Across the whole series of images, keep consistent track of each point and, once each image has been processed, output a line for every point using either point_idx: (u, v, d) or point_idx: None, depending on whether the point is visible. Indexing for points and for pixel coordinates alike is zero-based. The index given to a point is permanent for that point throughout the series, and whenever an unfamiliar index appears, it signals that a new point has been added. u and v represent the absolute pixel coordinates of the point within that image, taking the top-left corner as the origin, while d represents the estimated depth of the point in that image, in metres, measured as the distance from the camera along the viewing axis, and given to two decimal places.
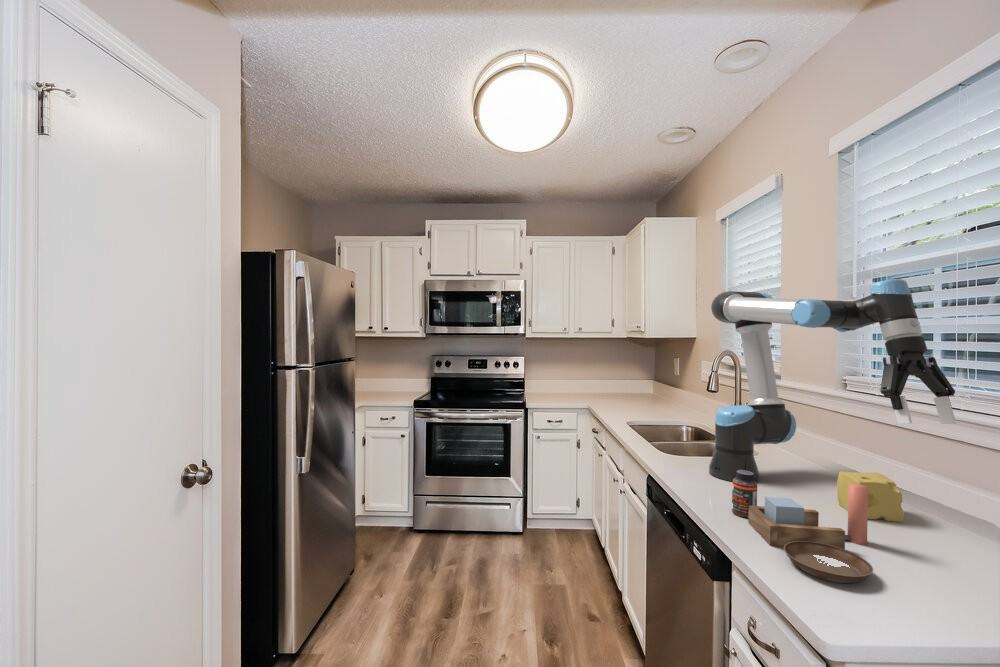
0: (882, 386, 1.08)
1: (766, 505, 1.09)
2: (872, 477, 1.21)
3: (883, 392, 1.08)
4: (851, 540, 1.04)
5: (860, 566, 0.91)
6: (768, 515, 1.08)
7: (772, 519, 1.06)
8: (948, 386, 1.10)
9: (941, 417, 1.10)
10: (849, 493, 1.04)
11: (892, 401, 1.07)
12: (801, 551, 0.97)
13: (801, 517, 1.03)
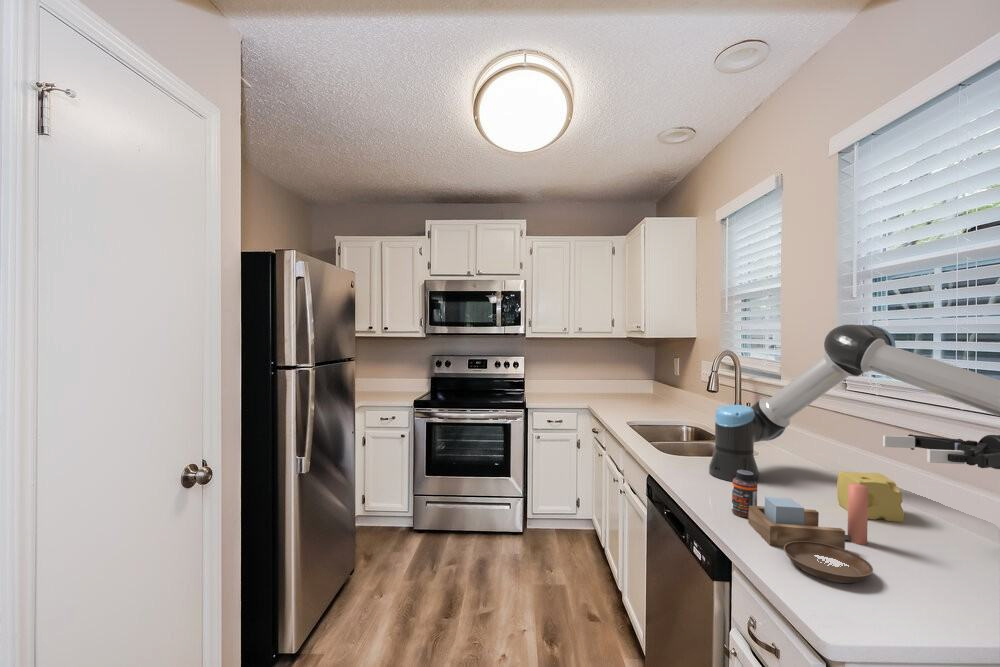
0: (988, 457, 0.92)
1: (766, 505, 1.09)
2: (872, 477, 1.21)
3: (981, 458, 0.92)
4: (851, 540, 1.04)
5: (860, 566, 0.91)
6: (768, 515, 1.08)
7: (772, 519, 1.06)
8: None
9: (892, 438, 1.09)
10: (849, 493, 1.04)
11: (963, 457, 0.94)
12: (801, 551, 0.97)
13: (801, 517, 1.03)
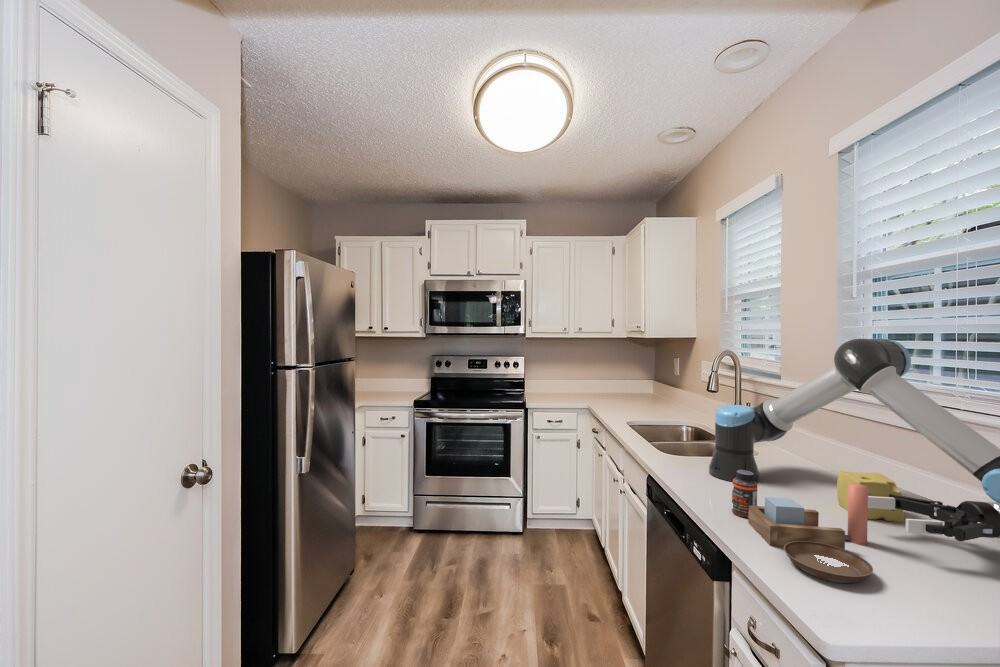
0: (966, 530, 0.92)
1: (766, 505, 1.09)
2: (872, 477, 1.21)
3: (959, 531, 0.92)
4: (851, 540, 1.04)
5: (860, 566, 0.91)
6: (768, 515, 1.08)
7: (772, 519, 1.06)
8: None
9: (872, 499, 1.09)
10: (849, 493, 1.04)
11: (940, 528, 0.94)
12: (801, 551, 0.97)
13: (801, 517, 1.03)
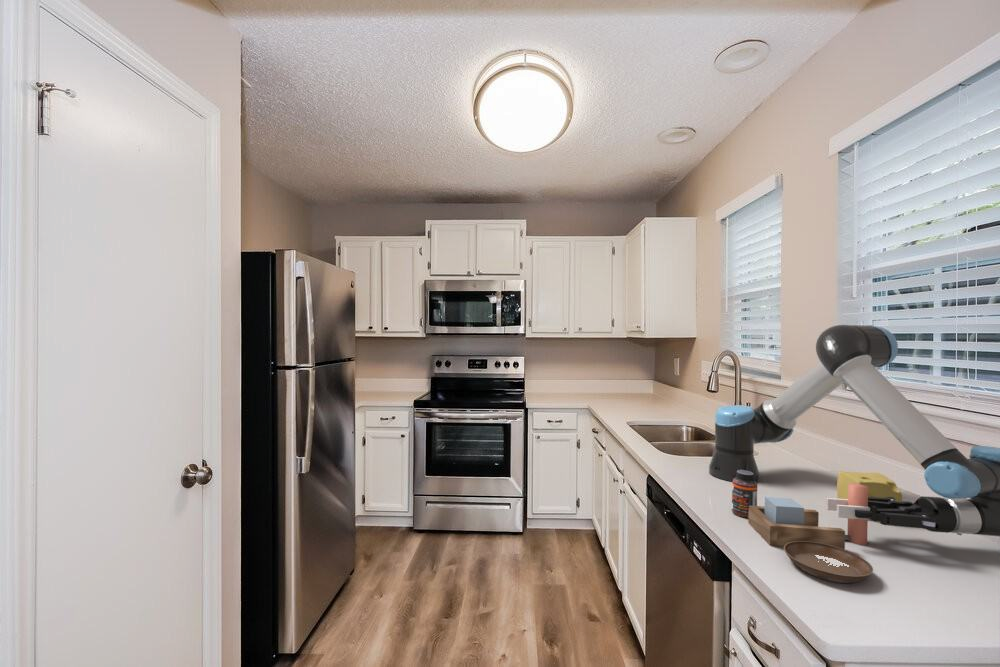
0: (891, 516, 0.98)
1: (766, 505, 1.09)
2: (872, 477, 1.21)
3: (883, 516, 0.99)
4: (851, 540, 1.04)
5: (859, 566, 0.91)
6: (768, 515, 1.08)
7: (772, 519, 1.06)
8: None
9: (835, 501, 1.06)
10: (849, 493, 1.04)
11: (867, 513, 1.00)
12: (801, 551, 0.97)
13: (801, 517, 1.03)
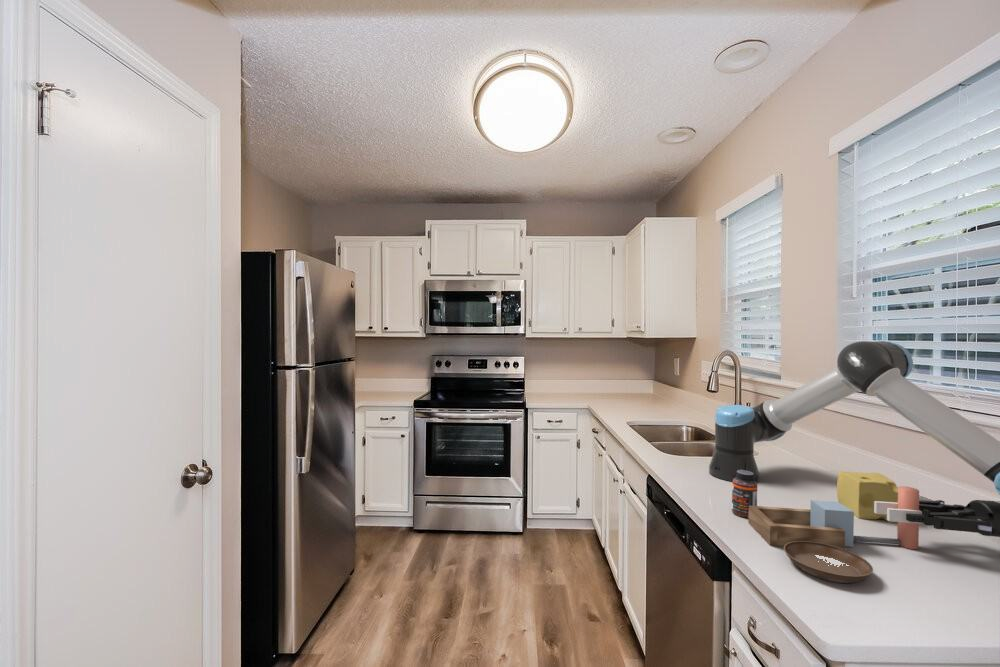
0: (945, 520, 0.96)
1: (812, 508, 1.07)
2: (872, 477, 1.21)
3: (937, 519, 0.96)
4: (902, 544, 1.02)
5: (859, 566, 0.91)
6: (815, 519, 1.06)
7: (820, 523, 1.04)
8: None
9: (883, 504, 1.04)
10: (899, 496, 1.02)
11: (920, 517, 0.98)
12: (801, 551, 0.97)
13: (850, 521, 1.01)
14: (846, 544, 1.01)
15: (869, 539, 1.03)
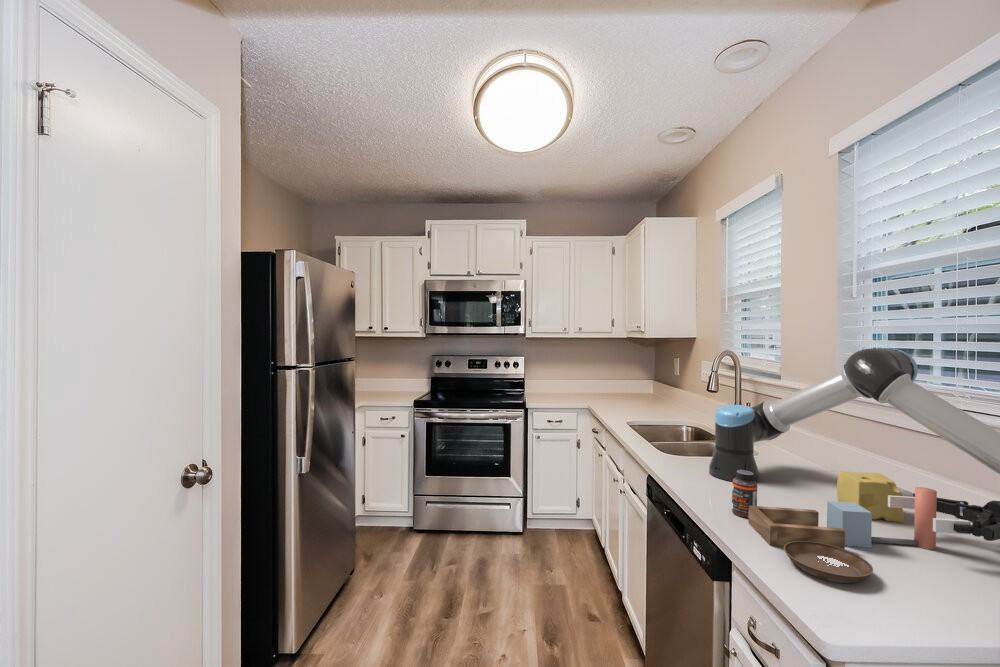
0: (995, 530, 0.92)
1: (829, 509, 1.07)
2: (872, 477, 1.21)
3: (988, 531, 0.92)
4: (919, 545, 1.02)
5: (859, 566, 0.91)
6: (832, 520, 1.06)
7: (837, 524, 1.03)
8: None
9: (897, 498, 1.09)
10: (916, 497, 1.02)
11: (969, 528, 0.93)
12: (801, 551, 0.97)
13: (868, 522, 1.01)
14: (864, 545, 1.01)
15: (886, 540, 1.03)
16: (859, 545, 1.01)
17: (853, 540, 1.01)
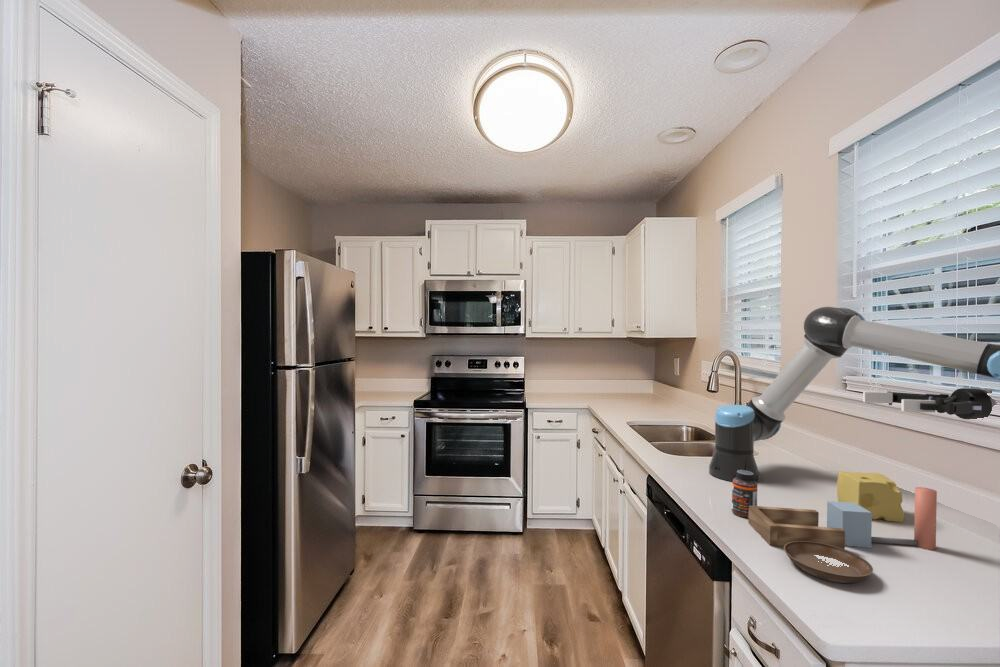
0: (956, 405, 1.00)
1: (829, 509, 1.07)
2: (872, 477, 1.21)
3: (950, 405, 1.00)
4: (919, 545, 1.02)
5: (859, 566, 0.91)
6: (832, 520, 1.06)
7: (837, 524, 1.03)
8: None
9: (871, 394, 1.17)
10: (916, 497, 1.02)
11: (933, 405, 1.02)
12: (801, 551, 0.97)
13: (868, 522, 1.01)
14: (864, 545, 1.01)
15: (886, 540, 1.03)
16: (859, 545, 1.01)
17: (853, 540, 1.01)
